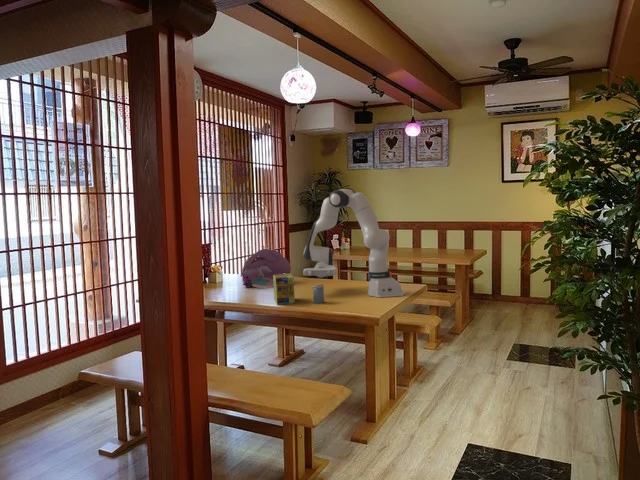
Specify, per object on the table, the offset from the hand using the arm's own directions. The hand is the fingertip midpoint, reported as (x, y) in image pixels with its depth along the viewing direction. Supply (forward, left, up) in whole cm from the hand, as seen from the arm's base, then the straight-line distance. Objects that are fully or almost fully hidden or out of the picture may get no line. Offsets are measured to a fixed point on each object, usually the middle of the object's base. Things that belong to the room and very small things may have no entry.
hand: (319, 273), depth 295 cm
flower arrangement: (+45, -50, -15) cm, 68 cm away
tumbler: (0, +12, -15) cm, 19 cm away
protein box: (+21, +6, -15) cm, 26 cm away
